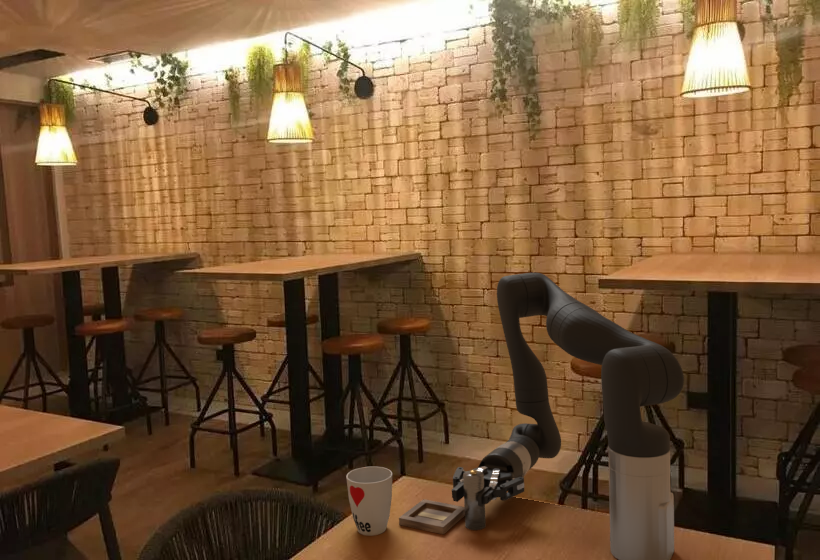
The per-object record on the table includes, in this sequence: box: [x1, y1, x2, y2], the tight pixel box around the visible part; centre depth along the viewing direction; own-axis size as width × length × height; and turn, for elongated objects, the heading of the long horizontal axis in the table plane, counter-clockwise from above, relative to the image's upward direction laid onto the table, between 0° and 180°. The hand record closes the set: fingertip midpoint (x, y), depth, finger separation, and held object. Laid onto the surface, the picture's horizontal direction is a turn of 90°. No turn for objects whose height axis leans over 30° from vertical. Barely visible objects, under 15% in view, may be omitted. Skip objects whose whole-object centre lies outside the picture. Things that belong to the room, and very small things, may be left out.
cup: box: [345, 466, 393, 536], centre depth 122 cm, size 8×8×10 cm
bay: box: [398, 498, 465, 535], centre depth 126 cm, size 9×9×1 cm
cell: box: [463, 469, 487, 531], centre depth 122 cm, size 4×4×10 cm
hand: (467, 498), depth 119 cm, fingers open, 4 cm apart
